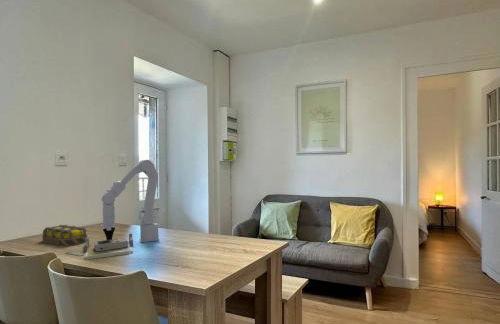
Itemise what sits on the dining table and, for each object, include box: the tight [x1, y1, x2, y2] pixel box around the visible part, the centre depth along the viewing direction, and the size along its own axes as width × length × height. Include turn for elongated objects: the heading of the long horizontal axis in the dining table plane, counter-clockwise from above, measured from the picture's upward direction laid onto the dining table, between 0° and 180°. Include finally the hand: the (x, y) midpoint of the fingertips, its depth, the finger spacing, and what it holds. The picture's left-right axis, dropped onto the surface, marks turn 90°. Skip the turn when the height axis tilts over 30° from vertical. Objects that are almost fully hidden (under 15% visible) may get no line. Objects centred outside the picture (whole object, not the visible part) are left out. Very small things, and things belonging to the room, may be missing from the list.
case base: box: [83, 232, 134, 253], centre depth 163 cm, size 23×13×4 cm, turn 114°
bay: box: [84, 246, 134, 260], centre depth 148 cm, size 20×9×1 cm, turn 114°
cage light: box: [41, 224, 88, 247], centre depth 179 cm, size 15×8×30 cm
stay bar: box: [65, 250, 85, 257], centre depth 150 cm, size 2×12×1 cm, turn 60°
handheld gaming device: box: [93, 238, 129, 252], centre depth 160 cm, size 9×15×4 cm, turn 119°
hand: (109, 242), depth 165 cm, fingers closed
